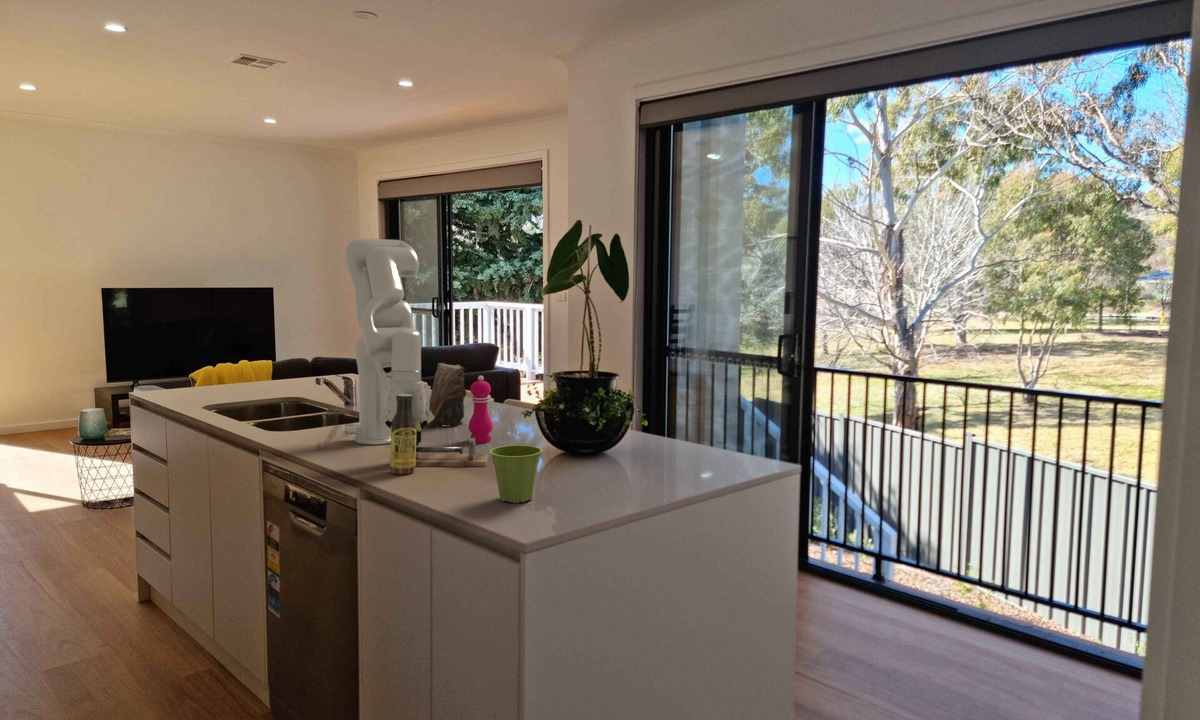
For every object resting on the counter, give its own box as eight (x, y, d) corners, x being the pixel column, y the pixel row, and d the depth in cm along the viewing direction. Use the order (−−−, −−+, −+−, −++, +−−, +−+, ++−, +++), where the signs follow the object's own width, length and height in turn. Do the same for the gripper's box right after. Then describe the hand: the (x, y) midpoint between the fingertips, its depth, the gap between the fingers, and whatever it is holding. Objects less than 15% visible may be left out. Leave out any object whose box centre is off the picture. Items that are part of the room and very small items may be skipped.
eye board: (400, 466, 205) (400, 443, 204) (407, 458, 214) (406, 436, 213) (485, 466, 206) (485, 443, 206) (488, 458, 215) (488, 436, 214)
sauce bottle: (393, 476, 194) (392, 397, 192) (387, 471, 200) (386, 393, 198) (419, 474, 197) (418, 395, 195) (413, 468, 203) (412, 392, 201)
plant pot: (521, 489, 185) (522, 442, 184) (552, 500, 176) (553, 451, 175) (478, 497, 177) (478, 448, 176) (508, 510, 168) (508, 458, 167)
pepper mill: (495, 439, 240) (495, 374, 238) (489, 444, 233) (489, 377, 231) (472, 438, 241) (472, 373, 239) (465, 443, 234) (465, 376, 232)
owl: (431, 420, 270) (431, 362, 268) (469, 420, 270) (469, 362, 268) (426, 427, 257) (425, 366, 255) (465, 427, 258) (465, 367, 256)
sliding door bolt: (392, 460, 206) (392, 418, 204) (397, 454, 212) (396, 413, 211) (461, 460, 207) (461, 418, 206) (464, 454, 213) (464, 414, 212)
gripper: (370, 378, 202) (371, 448, 204) (437, 379, 204) (437, 448, 206) (376, 374, 210) (377, 441, 212) (440, 375, 211) (440, 442, 213)
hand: (406, 444), depth 209 cm, fingers closed on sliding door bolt, 4 cm apart
